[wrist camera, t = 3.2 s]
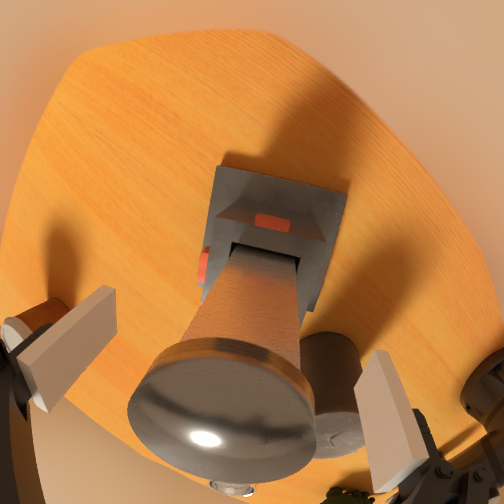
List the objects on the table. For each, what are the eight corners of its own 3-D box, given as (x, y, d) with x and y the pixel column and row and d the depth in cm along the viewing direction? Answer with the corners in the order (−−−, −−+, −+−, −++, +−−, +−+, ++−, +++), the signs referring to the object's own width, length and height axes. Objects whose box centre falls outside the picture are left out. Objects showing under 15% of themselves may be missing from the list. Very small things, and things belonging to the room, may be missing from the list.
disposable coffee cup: (61, 283, 38) (12, 316, 27) (88, 333, 41) (47, 374, 29) (35, 296, 41) (-8, 326, 29) (60, 340, 43) (22, 375, 31)
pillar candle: (322, 318, 35) (335, 407, 20) (371, 355, 35) (396, 438, 21) (273, 363, 38) (262, 451, 24) (322, 393, 39) (327, 476, 24)
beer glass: (231, 393, 40) (210, 472, 26) (273, 405, 40) (265, 485, 26) (221, 417, 43) (201, 489, 28) (260, 428, 42) (249, 500, 28)
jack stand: (344, 193, 30) (377, 211, 18) (312, 306, 34) (320, 369, 23) (219, 165, 30) (181, 167, 19) (200, 280, 35) (163, 332, 24)
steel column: (304, 221, 29) (349, 403, 7) (290, 277, 31) (284, 492, 9) (244, 208, 30) (119, 348, 7) (233, 264, 32) (135, 456, 9)
